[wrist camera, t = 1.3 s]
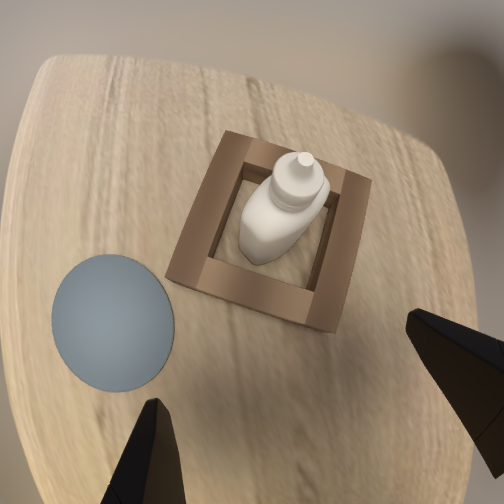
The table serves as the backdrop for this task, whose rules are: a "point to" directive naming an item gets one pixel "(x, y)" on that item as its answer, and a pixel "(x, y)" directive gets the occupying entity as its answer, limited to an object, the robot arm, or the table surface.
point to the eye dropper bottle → (282, 207)
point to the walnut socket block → (255, 285)
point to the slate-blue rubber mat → (112, 323)
